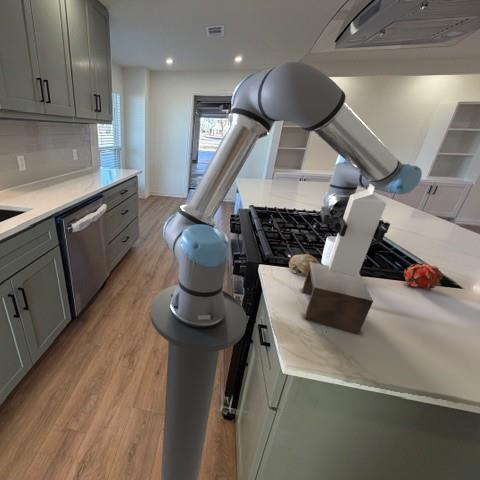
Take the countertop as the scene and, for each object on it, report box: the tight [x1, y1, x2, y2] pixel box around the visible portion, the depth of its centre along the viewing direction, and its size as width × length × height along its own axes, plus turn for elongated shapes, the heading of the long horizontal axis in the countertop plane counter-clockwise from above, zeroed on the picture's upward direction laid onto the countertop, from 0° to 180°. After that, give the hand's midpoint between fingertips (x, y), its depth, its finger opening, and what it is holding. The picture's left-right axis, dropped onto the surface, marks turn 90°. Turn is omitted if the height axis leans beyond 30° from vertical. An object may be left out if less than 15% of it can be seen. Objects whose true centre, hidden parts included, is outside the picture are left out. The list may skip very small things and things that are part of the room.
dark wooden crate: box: [301, 262, 374, 335], centre depth 69 cm, size 12×15×10 cm
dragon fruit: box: [403, 262, 444, 290], centre depth 82 cm, size 8×8×12 cm
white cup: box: [320, 236, 337, 266], centre depth 94 cm, size 8×8×10 cm
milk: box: [328, 184, 387, 278], centre depth 62 cm, size 6×6×22 cm
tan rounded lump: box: [288, 253, 321, 277], centre depth 90 cm, size 10×10×8 cm
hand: (362, 233), depth 57 cm, fingers closed on milk, 6 cm apart
